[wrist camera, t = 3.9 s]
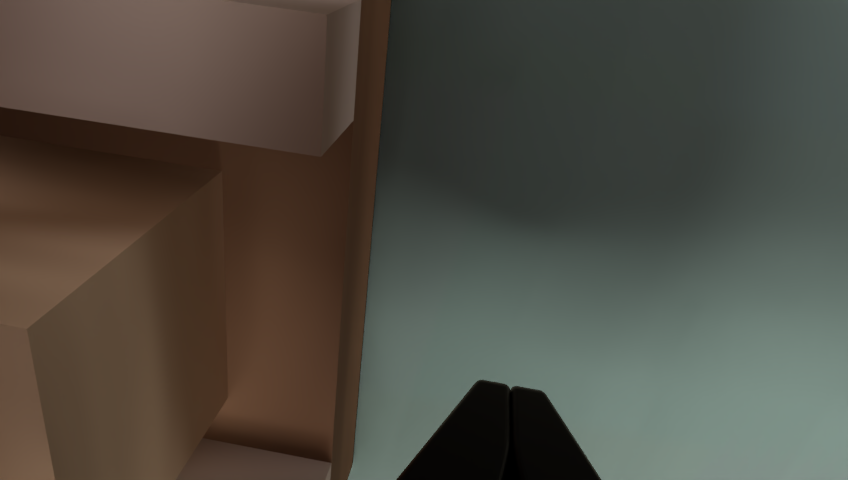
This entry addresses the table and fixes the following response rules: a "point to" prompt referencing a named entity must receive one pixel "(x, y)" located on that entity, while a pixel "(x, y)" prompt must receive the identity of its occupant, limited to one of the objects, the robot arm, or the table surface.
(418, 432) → the table surface
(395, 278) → the table surface
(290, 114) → the slot board
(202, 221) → the brown wooden cube
